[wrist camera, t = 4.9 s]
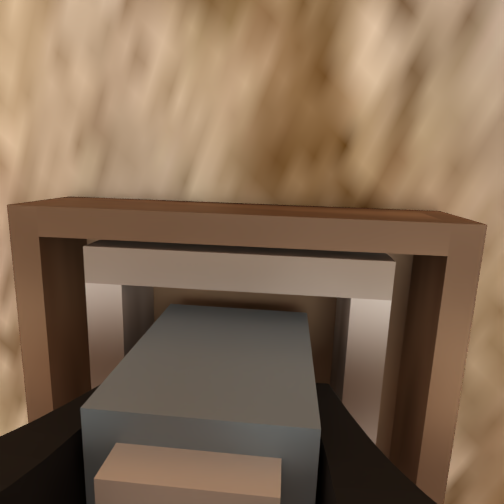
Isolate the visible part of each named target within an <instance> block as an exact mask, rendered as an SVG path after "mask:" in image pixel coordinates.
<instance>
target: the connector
mask: <svg viewBox="0 0 504 504" xmlns="http://www.w3.org/2000/svg"><path fill="white" fill-rule="evenodd" d="M80 410H81V426H82V441H83V457H84V473H85V488H86V504H315V498H316V486H317V474H318V462H319V449H320V437H321V424H320V416H319V408H318V400H317V391H316V383H315V375H314V367H313V359H312V350H311V342H310V334H309V326H308V317H307V313H303V312H288V311H273V310H257V309H242V308H227V307H212V306H196V305H181V304H170V305H169V306H168V307H167V309H166V310H165V311H164V312H163V313H162V314H161V315H160V317H159V318H158V319H157V320H156V321H155V322H154V324H153V325H152V326H151V327H150V328H149V329H148V330H147V332H146V333H145V334H144V335H143V336H142V337H141V339H140V340H139V341H138V342H137V343H136V344H135V345H134V347H133V348H132V349H131V350H130V351H129V352H128V354H127V355H126V356H125V357H124V358H123V359H122V360H121V362H120V363H119V364H118V365H117V366H116V367H115V369H114V370H113V371H112V372H111V373H110V374H109V375H108V377H107V378H106V379H105V380H104V381H103V382H102V384H101V385H100V386H99V387H98V388H97V389H96V391H95V392H94V393H93V394H92V395H91V396H90V397H89V399H88V400H87V401H86V402H85V403H84V404H83V406H82V407H81V408H80Z"/></svg>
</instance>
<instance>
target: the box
mask: <svg viewBox="0 0 504 504" xmlns="http://www.w3.org/2000/svg"><path fill="white" fill-rule="evenodd" d="M7 210H8V220H9V230H10V240H11V250H12V261H13V271H14V281H15V291H16V301H17V311H18V321H19V331H20V341H21V352H22V362H23V372H24V382H25V392H26V402H27V412H28V422H29V423H30V422H32V421H34V420H36V419H38V418H40V417H42V416H44V415H46V414H48V413H49V412H51V411H53V410H55V409H57V408H59V407H61V406H63V405H65V404H67V403H69V402H70V401H72V400H74V399H76V398H77V397H79V396H81V395H83V394H84V393H86V392H88V391H90V390H92V389H93V388H95V387H97V386H99V385H100V384H102V382H103V381H104V380H105V379H106V378H107V377H108V375H109V374H110V373H111V372H112V371H113V370H114V369H115V367H116V366H117V365H118V364H119V363H120V362H121V360H122V359H123V358H124V357H125V356H126V355H127V354H128V352H129V351H130V350H131V349H132V348H133V347H134V345H135V344H136V343H137V342H138V341H139V340H140V339H141V337H142V336H143V335H144V334H145V333H146V332H147V330H148V329H149V328H150V327H151V326H152V325H153V324H154V322H155V321H156V320H157V319H158V318H159V317H160V315H161V314H162V313H163V312H164V311H165V310H166V309H167V307H168V306H169V305H170V304H181V305H196V306H212V307H227V308H242V309H257V310H273V311H288V312H303V313H307V317H308V326H309V334H310V342H311V350H312V359H313V367H314V375H315V383H327V384H329V385H330V386H331V387H332V388H333V390H334V391H335V393H336V394H337V396H338V397H339V399H340V400H341V402H342V403H343V404H344V406H345V407H346V409H347V410H348V411H349V413H350V414H351V415H352V417H353V418H354V419H355V420H356V422H357V423H358V424H359V425H360V427H361V428H362V429H363V430H364V432H365V433H366V434H367V435H368V437H369V438H370V439H371V440H372V441H373V442H374V444H375V445H376V446H377V447H378V448H379V449H380V450H381V451H382V453H383V454H384V455H385V456H386V457H387V458H388V459H389V460H390V461H391V462H392V463H393V464H394V465H395V466H396V467H397V468H398V469H399V470H400V471H401V472H402V473H403V474H404V475H405V476H406V477H408V478H409V479H410V480H411V481H412V482H413V483H414V484H415V485H416V486H417V487H418V488H420V489H421V490H422V491H423V492H424V493H425V494H426V495H427V496H429V497H430V498H431V499H432V500H433V501H435V502H436V503H437V504H444V497H445V491H446V485H447V478H448V472H449V465H450V459H451V453H452V446H453V440H454V434H455V427H456V421H457V414H458V408H459V402H460V395H461V389H462V383H463V376H464V370H465V363H466V357H467V351H468V344H469V338H470V332H471V325H472V319H473V313H474V306H475V300H476V293H477V287H478V281H479V274H480V268H481V262H482V255H483V249H484V242H485V236H486V230H487V225H486V224H482V223H479V222H476V221H472V220H469V219H465V218H462V217H458V216H455V215H451V214H448V213H444V212H441V211H420V210H395V209H369V208H344V207H319V206H293V205H268V204H242V203H217V202H191V201H166V200H140V199H115V198H89V197H63V198H55V199H48V200H40V201H33V202H25V203H18V204H10V205H7Z"/></svg>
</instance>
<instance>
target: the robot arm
mask: <svg viewBox="0 0 504 504" xmlns="http://www.w3.org/2000/svg"><path fill="white" fill-rule="evenodd" d="M100 385H101V384H100ZM100 385H99V386H100ZM99 386H97V387H95V388H93V389H92V390H90V391H88V392H86V393H84V394H83V395H81V396H79V397H77V398H76V399H74V400H72V401H70V402H69V403H67V404H65V405H63V406H61V407H59V408H57V409H55V410H53V411H51V412H49V413H48V414H46V415H44V416H42V417H40V418H38V419H36V420H34V421H32V422H30V423H28V424H26V425H24V426H22V427H20V428H18V429H16V430H13V431H11V432H9V433H7V434H5V435H3V436H0V504H86V488H85V473H84V457H83V441H82V426H81V410H80V408H81V407H82V406H83V404H84V403H85V402H86V401H87V400H88V399H89V397H90V396H91V395H92V394H93V393H94V392H95V391H96V389H97V388H98V387H99ZM316 391H317V400H318V408H319V416H320V424H321V437H320V449H319V462H318V474H317V486H316V498H315V504H437V503H436V502H435V501H433V500H432V499H431V498H430V497H429V496H427V495H426V494H425V493H424V492H423V491H422V490H421V489H420V488H418V487H417V486H416V485H415V484H414V483H413V482H412V481H411V480H410V479H409V478H408V477H406V476H405V475H404V474H403V473H402V472H401V471H400V470H399V469H398V468H397V467H396V466H395V465H394V464H393V463H392V462H391V461H390V460H389V459H388V458H387V457H386V456H385V455H384V454H383V453H382V451H381V450H380V449H379V448H378V447H377V446H376V445H375V444H374V442H373V441H372V440H371V439H370V438H369V437H368V435H367V434H366V433H365V432H364V430H363V429H362V428H361V427H360V425H359V424H358V423H357V422H356V420H355V419H354V418H353V417H352V415H351V414H350V413H349V411H348V410H347V409H346V407H345V406H344V404H343V403H342V402H341V400H340V399H339V397H338V396H337V394H336V393H335V391H334V390H333V388H332V387H331V386H330V385H329V384H327V383H316Z"/></svg>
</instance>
